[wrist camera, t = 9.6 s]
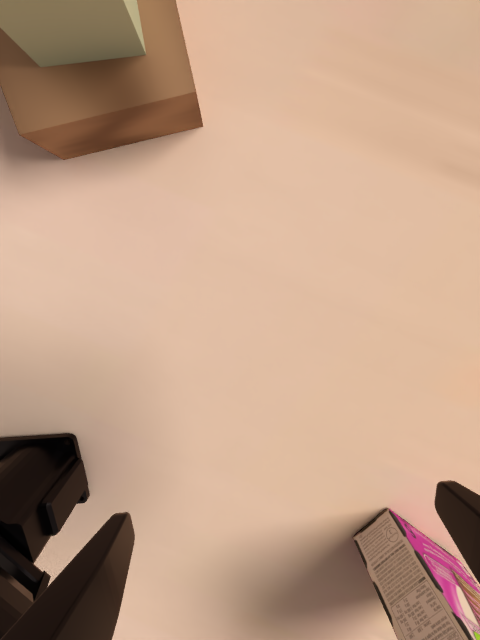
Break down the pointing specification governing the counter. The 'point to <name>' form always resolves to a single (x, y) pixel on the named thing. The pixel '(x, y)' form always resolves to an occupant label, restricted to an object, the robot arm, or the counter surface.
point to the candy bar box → (419, 582)
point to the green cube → (73, 29)
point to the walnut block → (105, 91)
